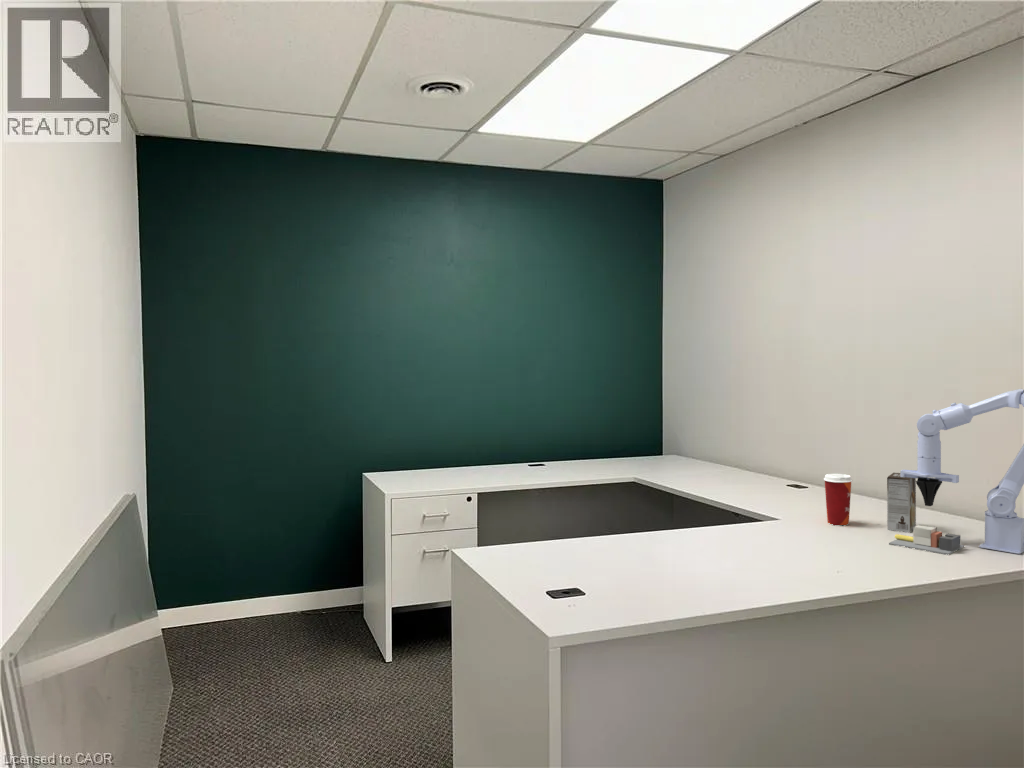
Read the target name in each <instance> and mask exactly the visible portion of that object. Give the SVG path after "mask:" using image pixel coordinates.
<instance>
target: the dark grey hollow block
mask: <svg viewBox="0 0 1024 768" xmlns="http://www.w3.org/2000/svg"><path fill="white" fill-rule="evenodd" d="M960 545H961V534H955V533H949V532H948V533H946V534H944V535H942V537H939V549H940V550H946V551H951V552H952V551H954V550H956V549H958V548H960Z"/></svg>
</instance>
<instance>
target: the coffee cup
mask: <svg viewBox="0 0 1024 768" xmlns="http://www.w3.org/2000/svg"><path fill="white" fill-rule="evenodd" d="M823 481H824V489H825V490H824V492H825V505H826V517H827V518H826V519H827V524H828V523H830V524H833V525H832V526H835V525H846V526H848V525H850V524H849V523H850V512H851V511H850V510H851V495H852V491H851V490H852V482H853V479H852V476H851V475H849V474H845V473H827V474H825V475H824V477H823ZM830 524H829V525H830ZM847 524H848V525H847Z"/></svg>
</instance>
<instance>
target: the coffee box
mask: <svg viewBox="0 0 1024 768" xmlns="http://www.w3.org/2000/svg"><path fill="white" fill-rule="evenodd" d="M886 478H887V479H886V480H887V481H886V483H887V484H886V490H887V491H886V493H887V495H886V496H887V498H886V503H887V506H886V509H887V515H886V516H887V518H886V520H887V521H886V522H887V531H892V530H894V531H893V532H901V531H904V532H903V533H909V532H910V533H911V532H913V527H915V526H917V507H916V506H917V503H916V502H917V500H916V499H917V494H916V493H917V490H916V489H917V487H916V486H917V484H916V481H917V480H916V479H917V478H909V477H901V472H892V473H891V474H890V475H888V476H887V477H886Z"/></svg>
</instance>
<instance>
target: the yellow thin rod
mask: <svg viewBox="0 0 1024 768" xmlns="http://www.w3.org/2000/svg"><path fill="white" fill-rule="evenodd" d="M894 538H895V540H897V539H899V540H905V541H910V542H913V536H910V535H906V534H905V535H903V534H899V533H896V534H895V535H894ZM938 545H939V543H938Z"/></svg>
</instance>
